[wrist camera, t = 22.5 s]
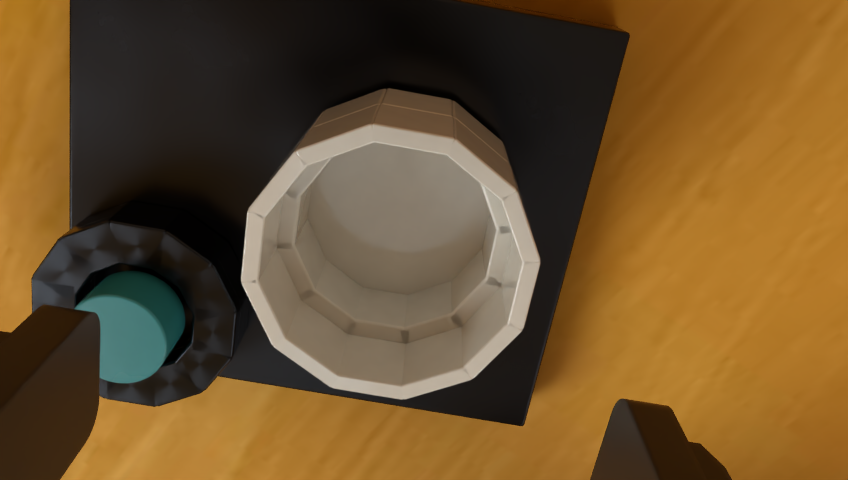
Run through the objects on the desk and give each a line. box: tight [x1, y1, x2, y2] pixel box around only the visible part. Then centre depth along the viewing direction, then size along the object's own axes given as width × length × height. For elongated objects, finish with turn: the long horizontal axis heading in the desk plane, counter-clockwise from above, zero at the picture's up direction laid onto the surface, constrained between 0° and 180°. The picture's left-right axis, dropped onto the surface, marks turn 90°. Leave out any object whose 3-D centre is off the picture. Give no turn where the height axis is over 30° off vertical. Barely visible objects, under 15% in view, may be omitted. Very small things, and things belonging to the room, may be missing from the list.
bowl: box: [241, 88, 541, 400], centre depth 19 cm, size 6×6×4 cm
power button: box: [74, 271, 185, 383], centre depth 20 cm, size 3×3×2 cm
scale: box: [32, 0, 630, 426], centre depth 21 cm, size 14×12×3 cm
